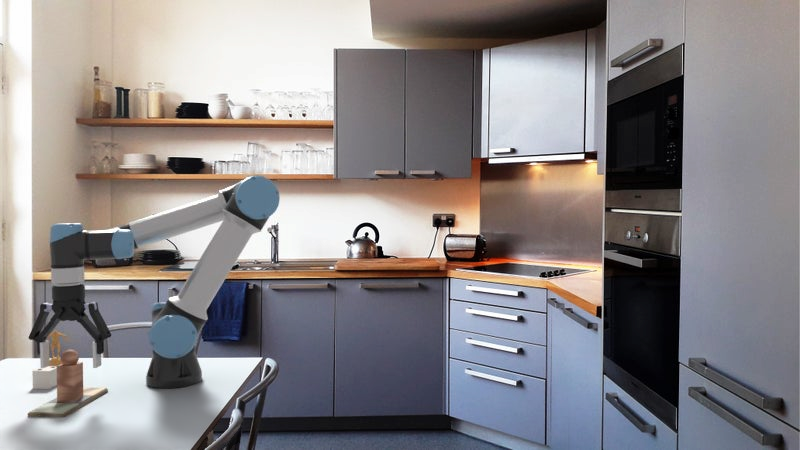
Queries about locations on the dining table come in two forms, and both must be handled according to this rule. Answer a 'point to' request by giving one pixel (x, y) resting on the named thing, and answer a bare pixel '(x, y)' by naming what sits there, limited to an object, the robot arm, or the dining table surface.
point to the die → (45, 377)
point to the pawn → (69, 377)
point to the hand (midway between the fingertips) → (71, 366)
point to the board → (67, 404)
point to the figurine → (55, 336)
